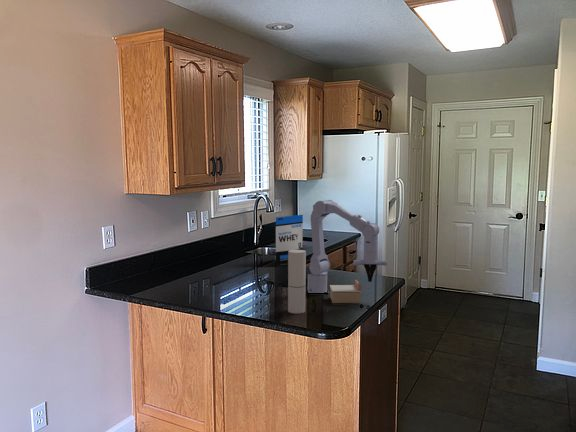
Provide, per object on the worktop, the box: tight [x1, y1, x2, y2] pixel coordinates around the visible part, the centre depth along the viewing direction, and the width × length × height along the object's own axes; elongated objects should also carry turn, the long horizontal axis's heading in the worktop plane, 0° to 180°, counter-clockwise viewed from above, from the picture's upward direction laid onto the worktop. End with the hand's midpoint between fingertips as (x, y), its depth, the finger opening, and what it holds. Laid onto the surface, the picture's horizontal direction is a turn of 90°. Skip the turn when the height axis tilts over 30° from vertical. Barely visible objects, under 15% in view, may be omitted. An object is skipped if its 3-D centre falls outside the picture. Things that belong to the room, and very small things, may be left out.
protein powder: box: [275, 214, 304, 268], centre depth 294 cm, size 10×24×30 cm, turn 137°
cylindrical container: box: [287, 249, 307, 314], centre depth 197 cm, size 7×7×25 cm
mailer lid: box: [329, 279, 362, 293], centre depth 213 cm, size 12×10×3 cm
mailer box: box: [329, 287, 361, 304], centre depth 213 cm, size 12×10×5 cm
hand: (369, 281), depth 213 cm, fingers closed
